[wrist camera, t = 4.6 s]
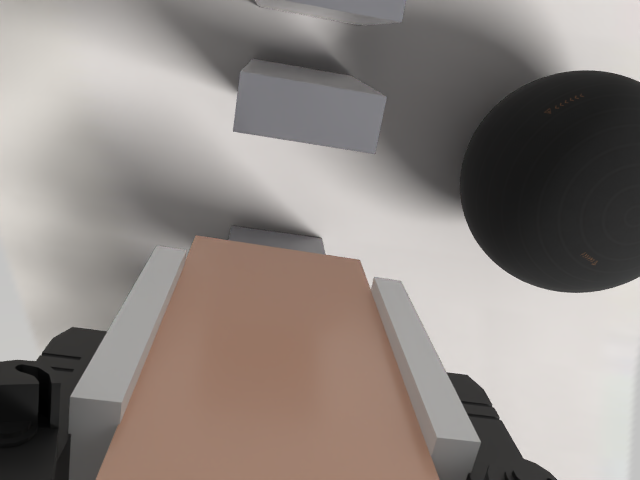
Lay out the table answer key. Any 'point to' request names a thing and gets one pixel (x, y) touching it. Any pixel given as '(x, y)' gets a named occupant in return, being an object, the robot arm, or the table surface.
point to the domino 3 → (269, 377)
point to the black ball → (559, 182)
